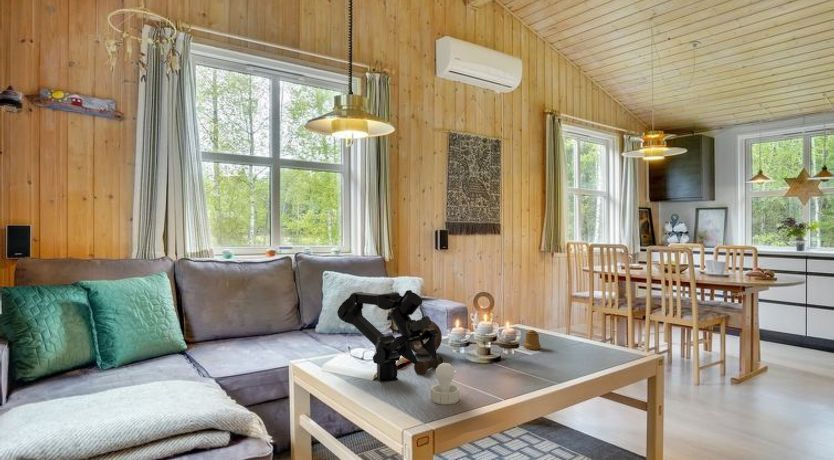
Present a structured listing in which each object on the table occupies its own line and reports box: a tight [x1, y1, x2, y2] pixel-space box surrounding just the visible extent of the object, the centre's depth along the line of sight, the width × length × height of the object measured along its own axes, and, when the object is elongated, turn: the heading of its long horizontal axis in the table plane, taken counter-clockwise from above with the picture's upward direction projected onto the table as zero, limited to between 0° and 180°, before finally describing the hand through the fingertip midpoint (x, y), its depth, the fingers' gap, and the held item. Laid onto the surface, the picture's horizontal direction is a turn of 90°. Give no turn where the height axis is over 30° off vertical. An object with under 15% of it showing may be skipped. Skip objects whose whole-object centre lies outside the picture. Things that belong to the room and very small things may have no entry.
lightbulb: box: [435, 362, 456, 393], centre depth 155 cm, size 6×6×11 cm
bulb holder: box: [430, 383, 460, 406], centre depth 155 cm, size 9×9×4 cm
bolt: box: [413, 355, 445, 376], centre depth 186 cm, size 6×5×15 cm
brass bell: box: [523, 329, 541, 351], centre depth 218 cm, size 8×8×8 cm
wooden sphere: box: [411, 320, 443, 356], centre depth 206 cm, size 15×15×15 cm
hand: (426, 361), depth 161 cm, fingers open, 9 cm apart
